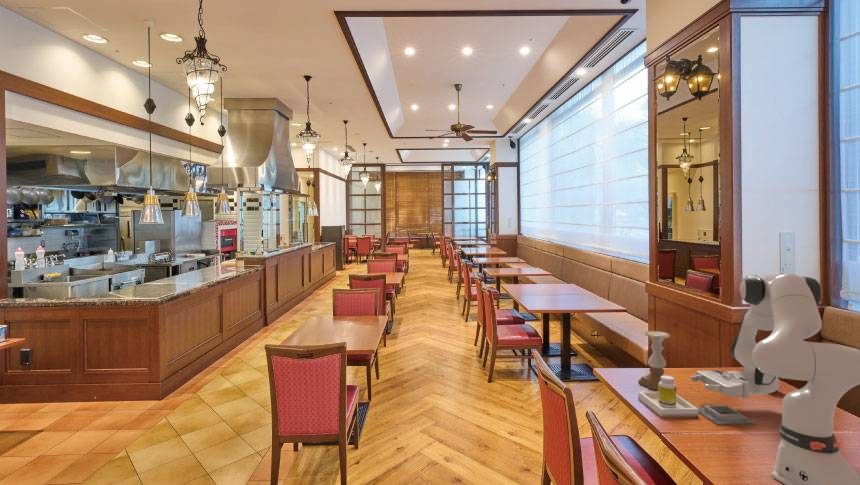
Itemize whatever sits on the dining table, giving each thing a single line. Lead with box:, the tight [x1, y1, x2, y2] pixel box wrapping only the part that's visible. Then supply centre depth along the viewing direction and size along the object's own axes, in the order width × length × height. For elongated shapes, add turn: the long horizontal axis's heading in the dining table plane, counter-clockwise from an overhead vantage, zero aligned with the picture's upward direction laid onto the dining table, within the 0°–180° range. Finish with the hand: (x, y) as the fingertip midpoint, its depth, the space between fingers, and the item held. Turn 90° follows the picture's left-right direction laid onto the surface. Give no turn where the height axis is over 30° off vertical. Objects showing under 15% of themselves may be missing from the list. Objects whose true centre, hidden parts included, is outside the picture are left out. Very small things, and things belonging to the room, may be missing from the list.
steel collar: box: [697, 404, 756, 426], centre depth 168 cm, size 14×14×2 cm
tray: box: [638, 390, 699, 418], centre depth 177 cm, size 18×14×3 cm
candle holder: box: [637, 330, 676, 391], centre depth 200 cm, size 11×11×24 cm
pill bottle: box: [658, 374, 677, 407], centre depth 176 cm, size 6×6×11 cm
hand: (698, 382), depth 176 cm, fingers open, 8 cm apart
